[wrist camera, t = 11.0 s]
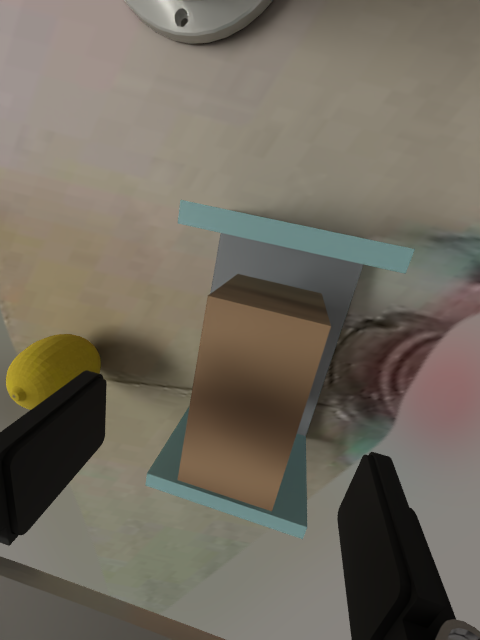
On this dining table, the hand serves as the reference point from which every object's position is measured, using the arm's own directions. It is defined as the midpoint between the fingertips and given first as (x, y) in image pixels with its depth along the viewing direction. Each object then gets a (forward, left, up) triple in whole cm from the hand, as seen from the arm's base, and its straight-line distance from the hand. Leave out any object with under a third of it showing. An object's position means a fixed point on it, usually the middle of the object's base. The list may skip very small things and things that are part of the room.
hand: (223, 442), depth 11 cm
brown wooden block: (+1, 0, -9) cm, 9 cm away
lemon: (+7, -15, -14) cm, 22 cm away
